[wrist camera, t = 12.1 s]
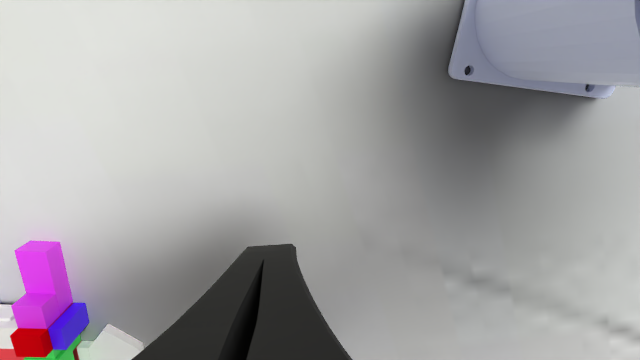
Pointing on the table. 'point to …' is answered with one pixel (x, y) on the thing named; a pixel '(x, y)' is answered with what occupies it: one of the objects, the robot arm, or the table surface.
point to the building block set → (54, 315)
